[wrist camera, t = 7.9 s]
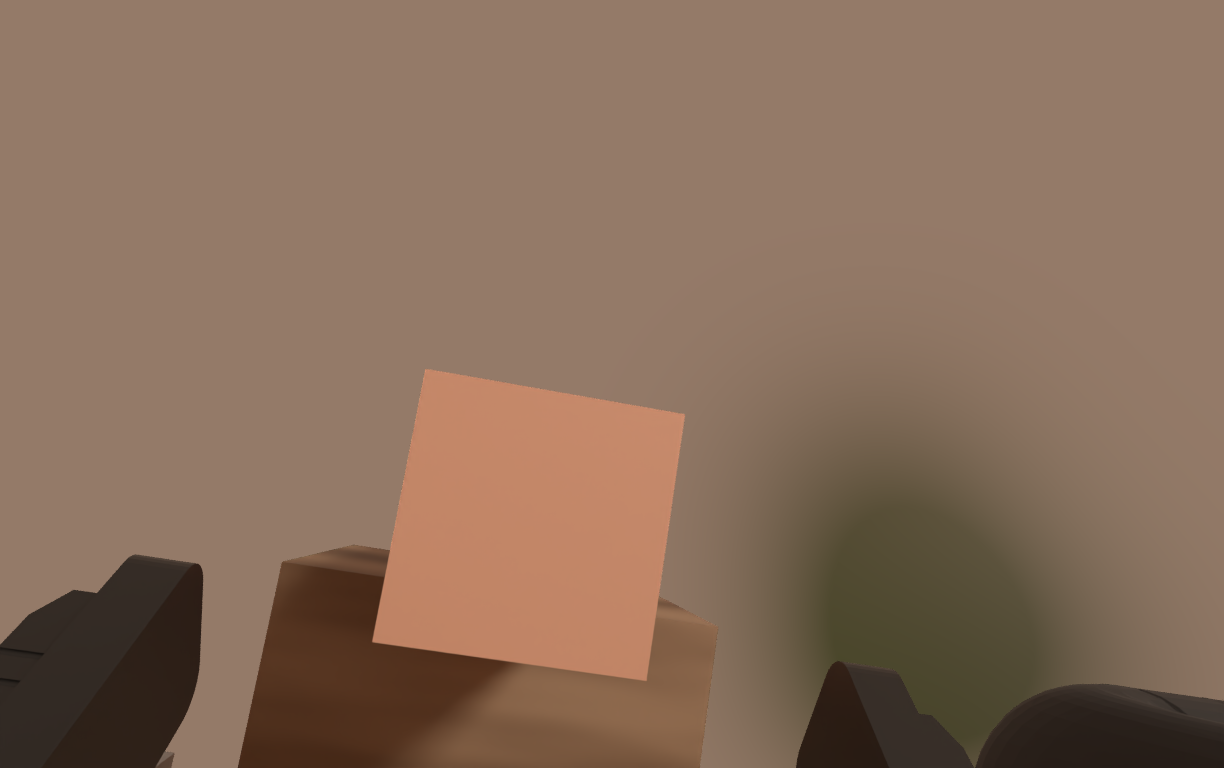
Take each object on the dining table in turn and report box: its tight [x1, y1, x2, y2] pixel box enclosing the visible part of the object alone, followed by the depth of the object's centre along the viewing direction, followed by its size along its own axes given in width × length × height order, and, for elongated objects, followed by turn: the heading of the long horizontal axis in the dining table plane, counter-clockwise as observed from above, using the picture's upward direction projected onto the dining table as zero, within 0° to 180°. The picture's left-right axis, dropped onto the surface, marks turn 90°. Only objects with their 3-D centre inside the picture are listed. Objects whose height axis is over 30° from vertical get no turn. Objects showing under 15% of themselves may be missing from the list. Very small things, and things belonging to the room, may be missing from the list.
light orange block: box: [372, 369, 685, 681], centre depth 22 cm, size 22×4×4 cm, turn 7°
